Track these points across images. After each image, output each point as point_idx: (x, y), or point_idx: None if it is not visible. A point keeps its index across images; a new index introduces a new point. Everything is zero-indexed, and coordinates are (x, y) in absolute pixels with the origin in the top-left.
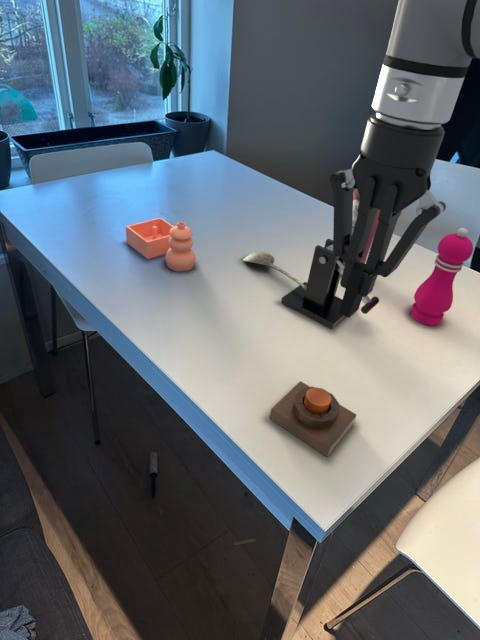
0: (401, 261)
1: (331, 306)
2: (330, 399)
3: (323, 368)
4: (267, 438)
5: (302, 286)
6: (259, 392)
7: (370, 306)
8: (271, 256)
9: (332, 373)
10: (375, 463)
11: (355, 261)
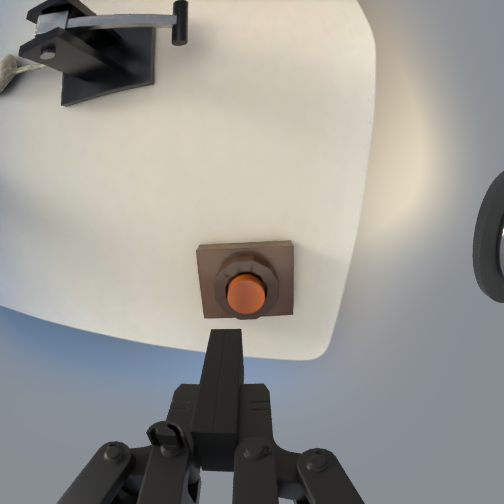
0: (350, 485)
1: (124, 49)
2: (261, 290)
3: (197, 174)
4: None
5: None
6: (168, 285)
7: (183, 29)
8: (8, 59)
9: (213, 173)
10: (338, 272)
11: (199, 485)
